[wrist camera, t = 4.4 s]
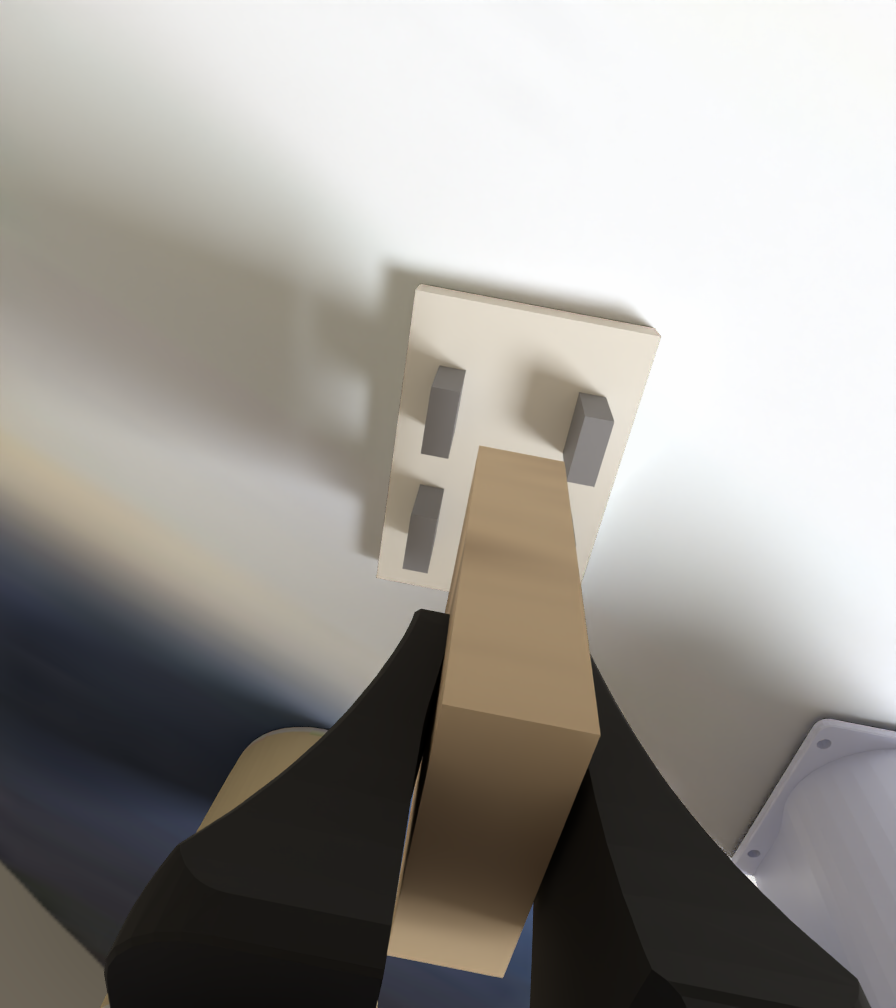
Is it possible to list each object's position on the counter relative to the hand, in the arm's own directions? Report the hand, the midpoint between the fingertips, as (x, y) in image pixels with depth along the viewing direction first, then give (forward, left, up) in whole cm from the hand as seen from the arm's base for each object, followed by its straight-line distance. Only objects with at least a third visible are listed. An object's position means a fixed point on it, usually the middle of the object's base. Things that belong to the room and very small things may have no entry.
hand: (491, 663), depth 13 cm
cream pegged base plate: (0, 0, -10) cm, 10 cm away
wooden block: (0, 0, -4) cm, 4 cm away
